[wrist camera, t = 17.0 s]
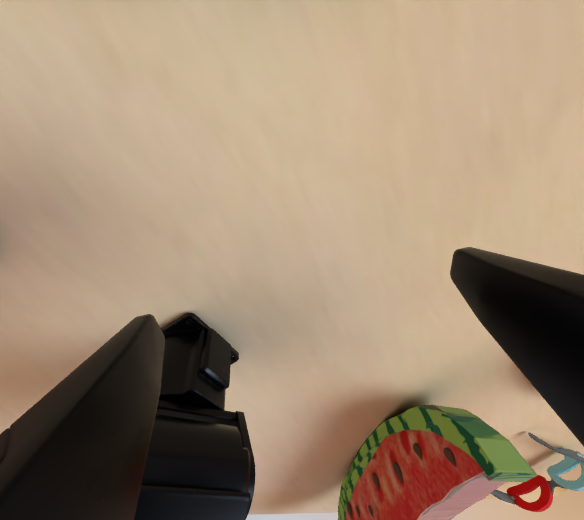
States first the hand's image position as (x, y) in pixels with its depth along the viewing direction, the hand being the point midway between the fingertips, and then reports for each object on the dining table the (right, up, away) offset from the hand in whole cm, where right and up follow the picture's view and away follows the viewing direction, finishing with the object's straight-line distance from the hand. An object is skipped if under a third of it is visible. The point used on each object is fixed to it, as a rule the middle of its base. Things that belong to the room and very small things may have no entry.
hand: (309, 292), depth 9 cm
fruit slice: (+12, -22, +29) cm, 38 cm away
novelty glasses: (+37, -31, +39) cm, 62 cm away
